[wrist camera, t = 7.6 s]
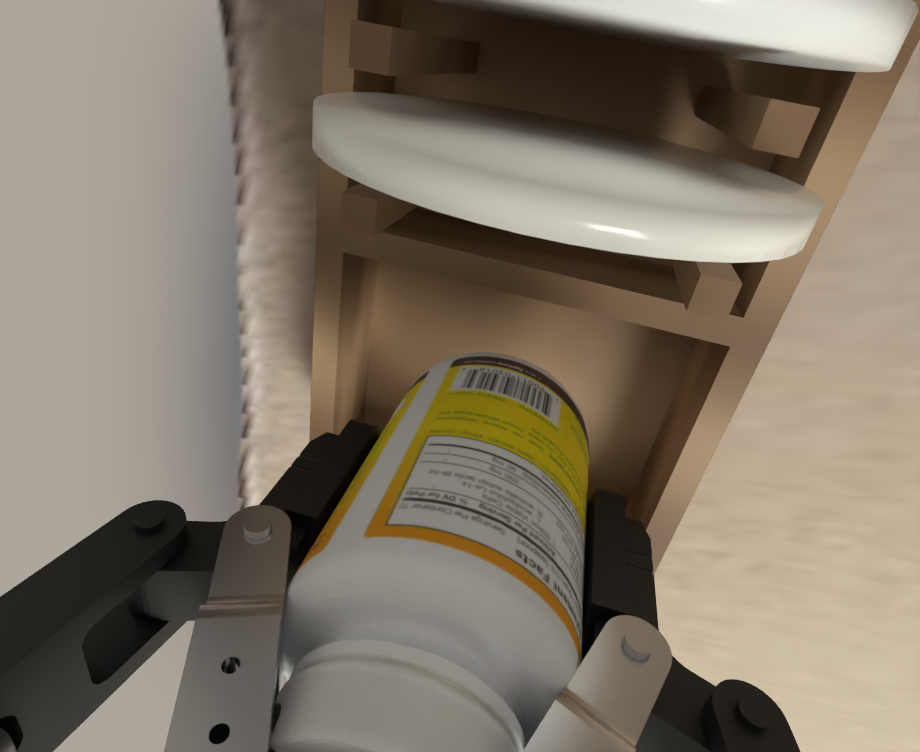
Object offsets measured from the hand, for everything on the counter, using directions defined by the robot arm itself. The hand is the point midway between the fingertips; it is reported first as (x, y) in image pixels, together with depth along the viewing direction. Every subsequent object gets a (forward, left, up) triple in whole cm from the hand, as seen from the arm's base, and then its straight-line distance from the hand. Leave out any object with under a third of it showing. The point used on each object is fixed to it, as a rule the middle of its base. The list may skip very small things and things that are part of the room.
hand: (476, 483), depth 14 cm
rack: (-3, -3, -7) cm, 8 cm away
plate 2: (-6, -5, -7) cm, 10 cm away
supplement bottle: (0, 0, -3) cm, 3 cm away
